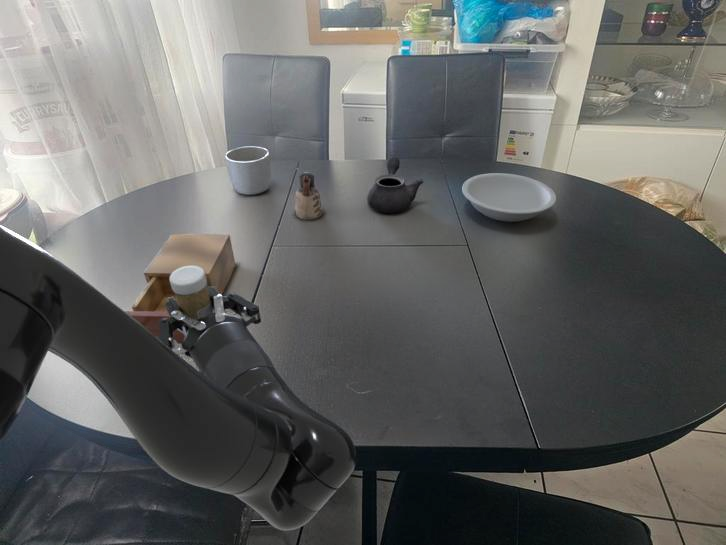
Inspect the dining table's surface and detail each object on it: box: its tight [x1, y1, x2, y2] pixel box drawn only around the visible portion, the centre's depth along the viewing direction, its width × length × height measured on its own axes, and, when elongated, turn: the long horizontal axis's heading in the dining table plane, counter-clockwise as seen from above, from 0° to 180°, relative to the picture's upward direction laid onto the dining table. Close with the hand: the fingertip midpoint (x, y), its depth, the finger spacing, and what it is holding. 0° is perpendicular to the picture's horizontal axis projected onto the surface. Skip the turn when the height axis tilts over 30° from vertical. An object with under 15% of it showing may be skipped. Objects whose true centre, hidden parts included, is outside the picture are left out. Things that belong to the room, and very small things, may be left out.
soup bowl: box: [461, 172, 557, 223], centre depth 120 cm, size 24×24×7 cm
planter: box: [224, 146, 272, 196], centre depth 131 cm, size 12×12×11 cm
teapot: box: [366, 156, 424, 213], centre depth 125 cm, size 19×15×10 cm
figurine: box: [294, 171, 323, 221], centre depth 118 cm, size 7×7×12 cm
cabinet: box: [143, 233, 237, 296], centre depth 93 cm, size 15×13×8 cm
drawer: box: [124, 276, 208, 344], centre depth 82 cm, size 18×11×6 cm, turn 178°
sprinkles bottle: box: [169, 266, 215, 320], centre depth 64 cm, size 5×5×13 cm
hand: (188, 296), depth 65 cm, fingers closed on sprinkles bottle, 4 cm apart
